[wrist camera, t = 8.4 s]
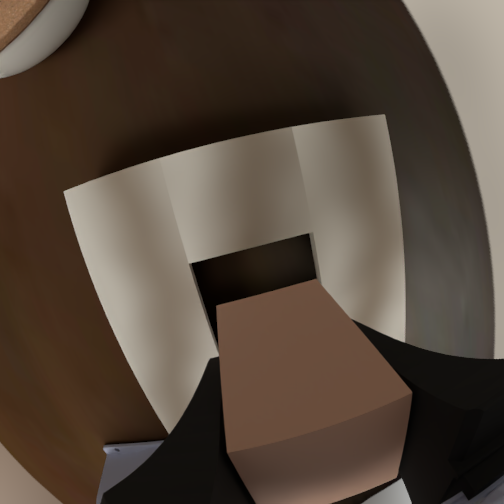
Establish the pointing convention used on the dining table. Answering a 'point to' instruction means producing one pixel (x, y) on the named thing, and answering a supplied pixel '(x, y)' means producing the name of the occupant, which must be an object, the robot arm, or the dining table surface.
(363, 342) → the terracotta peg
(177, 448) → the robot arm
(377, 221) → the birch box
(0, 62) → the lidded jar
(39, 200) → the dining table surface
